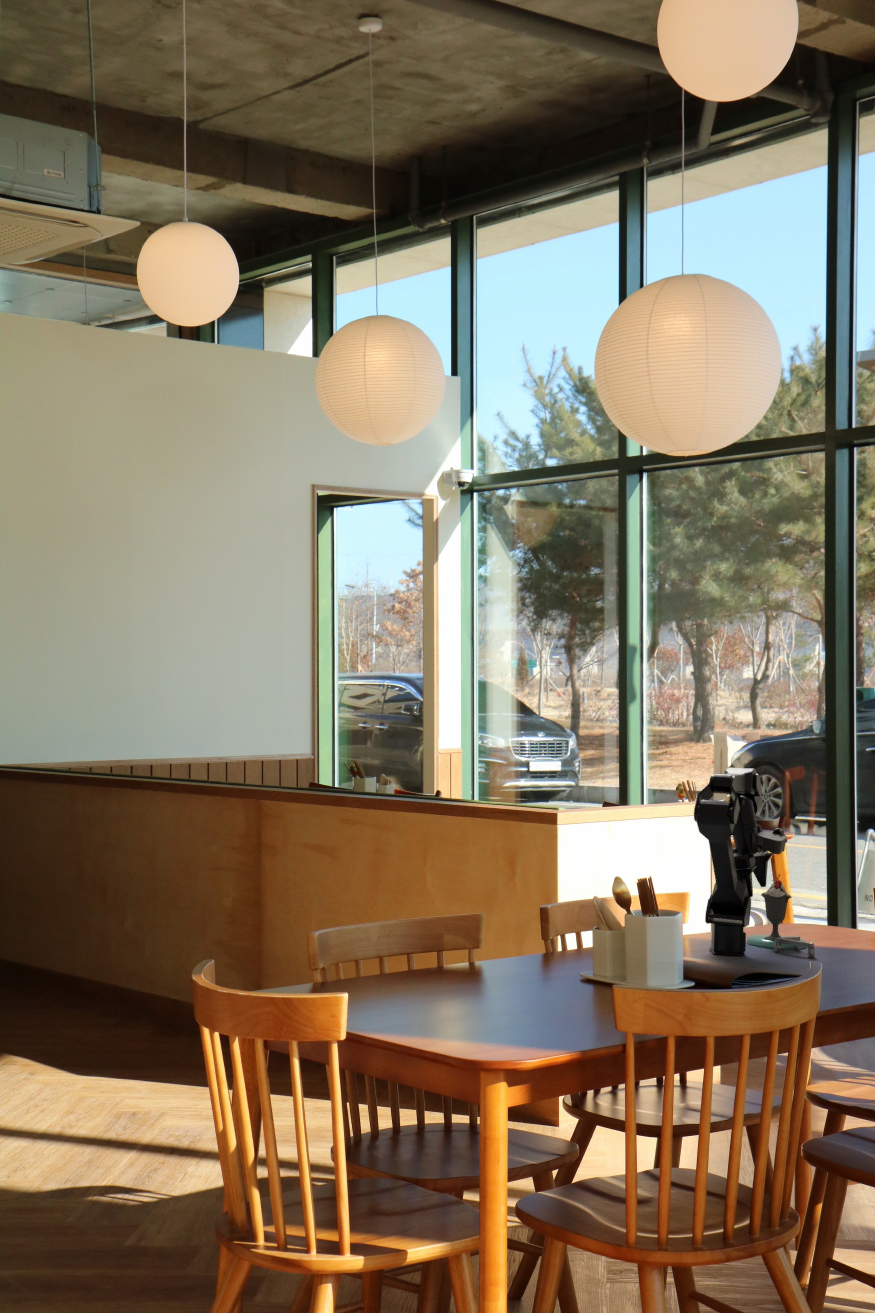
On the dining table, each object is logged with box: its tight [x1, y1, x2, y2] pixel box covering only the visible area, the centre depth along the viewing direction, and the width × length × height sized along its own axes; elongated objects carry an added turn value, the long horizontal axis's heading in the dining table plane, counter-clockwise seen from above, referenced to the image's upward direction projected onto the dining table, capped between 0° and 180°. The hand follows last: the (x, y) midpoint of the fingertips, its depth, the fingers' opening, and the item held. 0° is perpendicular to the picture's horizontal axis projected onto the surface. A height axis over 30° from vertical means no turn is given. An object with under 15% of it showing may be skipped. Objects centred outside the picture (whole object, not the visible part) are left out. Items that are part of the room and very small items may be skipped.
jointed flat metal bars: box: [774, 935, 816, 959], centre depth 289 cm, size 7×10×3 cm
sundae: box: [760, 873, 792, 941], centre depth 301 cm, size 7×7×15 cm
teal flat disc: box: [746, 934, 806, 950], centre depth 301 cm, size 13×13×1 cm
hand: (757, 892), depth 296 cm, fingers open, 9 cm apart
